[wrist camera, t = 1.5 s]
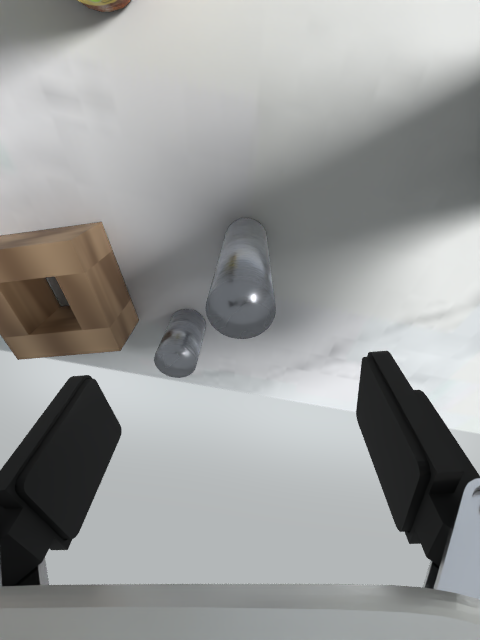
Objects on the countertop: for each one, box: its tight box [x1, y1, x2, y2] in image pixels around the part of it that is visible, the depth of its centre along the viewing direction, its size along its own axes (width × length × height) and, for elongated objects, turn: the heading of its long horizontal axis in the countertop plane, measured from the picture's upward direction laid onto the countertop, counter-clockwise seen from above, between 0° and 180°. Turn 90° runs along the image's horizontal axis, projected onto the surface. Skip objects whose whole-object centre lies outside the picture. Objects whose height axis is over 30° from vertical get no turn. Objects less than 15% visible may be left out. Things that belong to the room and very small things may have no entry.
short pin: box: [154, 309, 206, 378], centre depth 28 cm, size 4×4×6 cm
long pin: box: [206, 218, 275, 339], centre depth 20 cm, size 4×4×12 cm
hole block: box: [0, 222, 139, 360], centre depth 26 cm, size 10×10×5 cm
